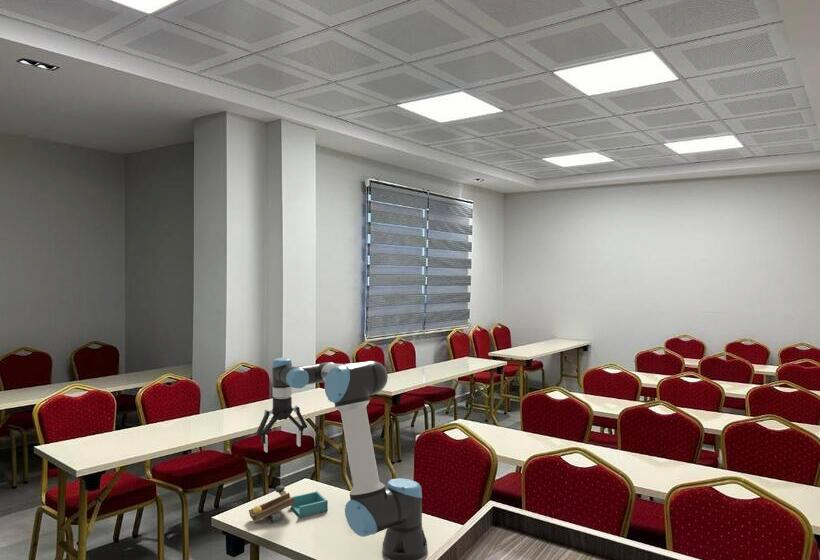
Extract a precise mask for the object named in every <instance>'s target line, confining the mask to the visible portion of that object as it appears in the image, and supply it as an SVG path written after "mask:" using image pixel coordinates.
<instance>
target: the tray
mask: <svg viewBox="0 0 820 560" xmlns="http://www.w3.org/2000/svg"><path fill="white" fill-rule="evenodd" d="M290 497H291V498H294V502H295V504H293V505H291V506H290V507H291V509H292V510H293V511H294V513H295V514H296V515H297V516H298V517H299V518H303V517H307V516H312V515H316V514H317V515H318V514H319V513H320V514H321V513H324V512H327V511H328V510H329V509H328V500H327V499H326V498H325V497H324V496H323V495H322V494H321V493H320V492H319V491H318V490H317V491H311V492H308V493H307V492H306V493H303V494H299V495H294V496H290Z"/></svg>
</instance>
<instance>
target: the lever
mask: <svg viewBox="0 0 820 560" xmlns="http://www.w3.org/2000/svg"><path fill="white" fill-rule="evenodd" d="M274 488H275V492H276V493H278V494H279V495H280V496H278V497H276V498H274V499H271V500H269V501H266V502H265V503H262V504H260V505H259V506H260V507H261V509H262V511H261V512H259V513H257V514H254V513H253V508H251V509H248V513H249V517H250V518H251V519H252V522H254V523H255V522H257V521H260V520H262V519H265V518H267V516H269V515H271V514H272V513H276V512H280V511H282V510H284V509H287V508H289V507H291V505H293V504H295V502H294V498H291V497H292V496H291V495H290V492H286V490H285V486H284V485H283V484H281V485H277V486H276V487H274Z"/></svg>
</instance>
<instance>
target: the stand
mask: <svg viewBox="0 0 820 560" xmlns="http://www.w3.org/2000/svg"><path fill="white" fill-rule="evenodd" d="M266 518H267V520H268V521H269V522H270V524H276V523H280V522H283V518H281V512H280V511H278V512H276V513H272V514H271V515H269V516H267V517H266Z"/></svg>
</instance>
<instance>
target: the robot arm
mask: <svg viewBox="0 0 820 560" xmlns="http://www.w3.org/2000/svg"><path fill="white" fill-rule="evenodd" d="M271 366H272V368H271V370H272V373H271V374H272V376H271V377H272V409H271V410H269V409H265V410H264V414H263V418H262V419H261V422H260V424H259V426H258V428H257V430H256V434H257V435H258V436H261V444H262V445H263V451H264V452H265V453H269V452H268V451H269V449H268V447H269V446H268V443H269V441H268V437H269V436H268V435H267V434H268V433H269V432H270V430H271V429H272V428H273V426H274V424H275V423H277V422H278V421H282V420H284V421H285V420H287V419H289V420H290V421H291V422H292V423H293V424H294V425H295V426H296V427H297V429H296V446H298V447H299V448H300V447H301V446H302V443H301V442H302V441H301V438H303V437H304V434H303V433H304V432H303V431H304V430H305V429H308V424H307V422H305V419H304V417H303V415H302V413H301V411H300V409H301V408H300V407H299V406H298V405H294V406H293V405H292V404H293V403H292V399H293V397H292V395H293V394H292V393H293V391H292V389H303V388H304V387H306V386H307V385H312V384H319V383H320V384H321V383H324V393H325V396H326V398H327V400H328V401H329V402H331V403H333V404H334V408H335V410H338V411H339V413H340V416H341V422H342V428H343V433H344V434H343V435H344V440H345V446H346V453H347V458H348V464H349V470H350V475H351V477H350V478H351V482H352V489H351V490H350V491H349V500H348V501H347V502H346V504H345V508H344V515H345V519H346V522H347V524H348V526H349V527H350V529H351V530H352V531H353V533H355V535H357V536H358V537H361V538H365V537H369V536H372V535H373V536H374V535H376V534H377V533H380V532H382V531H385V530H386V531H385V534H384V538H383V540H382V554H383V555H385V556H386V557H387V558H388V559H390V560H418V559H421V558H423V557H424V556H425V555H426V554H427V552H428V540H427V538H426V535H425V530H424V528H423V494H422V486H421V485H420V483H419V482H417V481H416V480H415V481H414V480H413V479H408V478H401V477H400V478H399V477H398V478H392V479H389V480H388V481H387V483H386V485H385V484H384V483H382V482H381V481H380V478H379V473H378V466H377V461H376V460H377V459H376V456H375V450H374V444H373V438H372V433H371V427H370V426H371V425H370V421H369V416H368V411H367V406H368V405H369V403H370V396H373V395H376V394H379V393H380V392H381V391H383V390H384V388H385V387H386V385H387V383H388V377H389V375H388V371H387V369H386V367H385V365H383V364H382V363H380V362H378V361H374V360H366V361H361V362H354V363H353V362H352V363H334V362H332V361H331V362H330V361H329V362H328V361H327V362H321V363H315V364H308V365H299V366H293V363H292V360H291V358H289V357H278V358H274V359H273V360H272V365H271ZM293 412H294V413H295V414H296V416H297V418H298V420H299V422H300V423H299V422H298V421H297V420H296V419H295V418H294V417H293V416H292V415H291V414H292V413H293ZM271 415H273V416H272V417H271V418H270V416H271ZM269 418H270V420H269ZM268 420H269V422H268ZM267 422H268V423H267Z"/></svg>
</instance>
